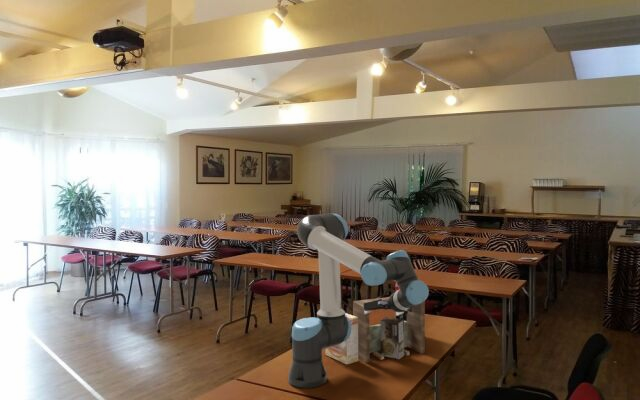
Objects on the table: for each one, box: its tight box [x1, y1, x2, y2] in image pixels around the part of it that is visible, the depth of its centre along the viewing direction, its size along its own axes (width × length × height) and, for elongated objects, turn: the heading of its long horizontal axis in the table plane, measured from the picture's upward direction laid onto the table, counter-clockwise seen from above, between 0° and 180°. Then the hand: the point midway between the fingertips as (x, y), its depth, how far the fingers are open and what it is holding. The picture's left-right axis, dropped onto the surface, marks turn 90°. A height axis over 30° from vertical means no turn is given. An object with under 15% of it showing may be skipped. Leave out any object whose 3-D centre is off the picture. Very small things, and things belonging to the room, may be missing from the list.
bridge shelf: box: [352, 296, 426, 364], centre depth 215 cm, size 30×12×24 cm, turn 112°
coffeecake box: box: [324, 312, 359, 365], centre depth 210 cm, size 15×7×20 cm, turn 37°
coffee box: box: [379, 316, 405, 360], centre depth 212 cm, size 9×6×16 cm
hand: (381, 311), depth 193 cm, fingers open, 13 cm apart
